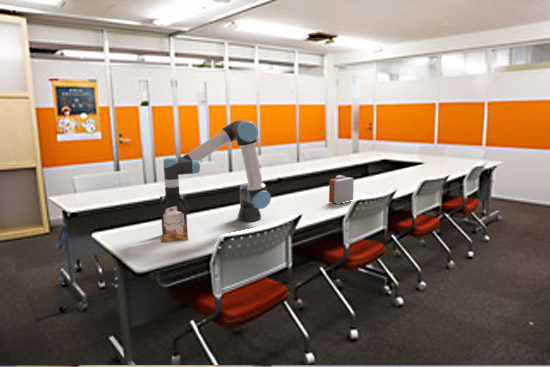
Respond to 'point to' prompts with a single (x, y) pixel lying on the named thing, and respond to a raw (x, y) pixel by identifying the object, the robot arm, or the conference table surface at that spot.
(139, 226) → the conference table surface
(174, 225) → the ink cartridge box
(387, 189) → the conference table surface
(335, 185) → the grey and orange case
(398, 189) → the conference table surface
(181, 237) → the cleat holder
